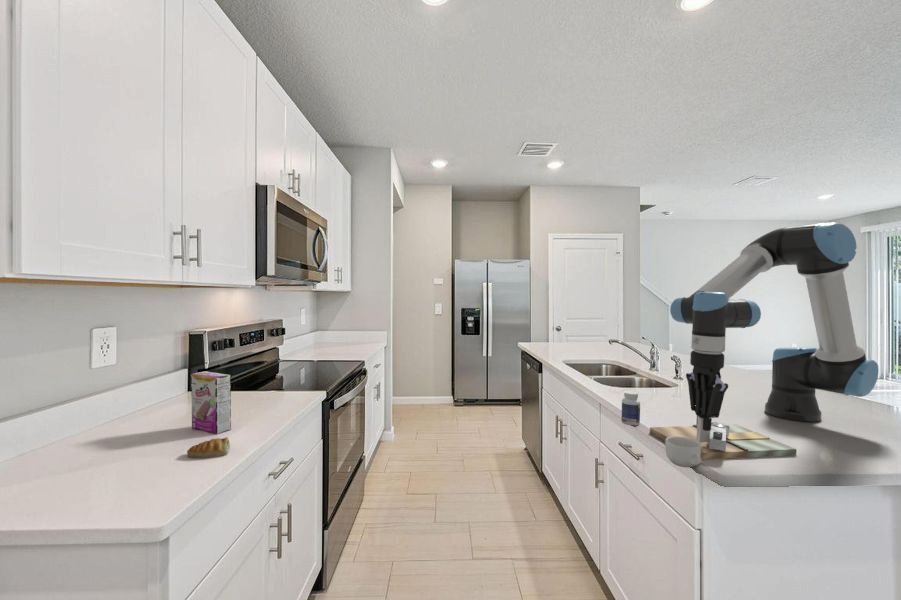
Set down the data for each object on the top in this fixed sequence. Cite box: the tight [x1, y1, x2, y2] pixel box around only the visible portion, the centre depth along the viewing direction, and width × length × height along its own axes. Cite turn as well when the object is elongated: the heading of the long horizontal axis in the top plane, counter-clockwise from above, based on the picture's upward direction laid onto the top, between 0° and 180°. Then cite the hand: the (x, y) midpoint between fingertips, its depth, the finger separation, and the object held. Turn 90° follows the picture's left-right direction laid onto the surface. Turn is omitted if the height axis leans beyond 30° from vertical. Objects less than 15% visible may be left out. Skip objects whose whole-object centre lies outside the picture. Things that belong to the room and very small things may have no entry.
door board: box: [649, 424, 797, 460], centre depth 121 cm, size 28×20×2 cm
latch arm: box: [709, 421, 730, 451], centre depth 116 cm, size 16×5×4 cm, turn 148°
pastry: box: [186, 436, 231, 459], centre depth 110 cm, size 9×7×4 cm
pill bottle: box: [620, 390, 641, 426], centre depth 138 cm, size 5×5×10 cm
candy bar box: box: [190, 370, 232, 435], centre depth 128 cm, size 11×5×16 cm, turn 65°
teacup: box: [664, 436, 702, 468], centre depth 106 cm, size 10×8×5 cm
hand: (702, 441), depth 114 cm, fingers closed
